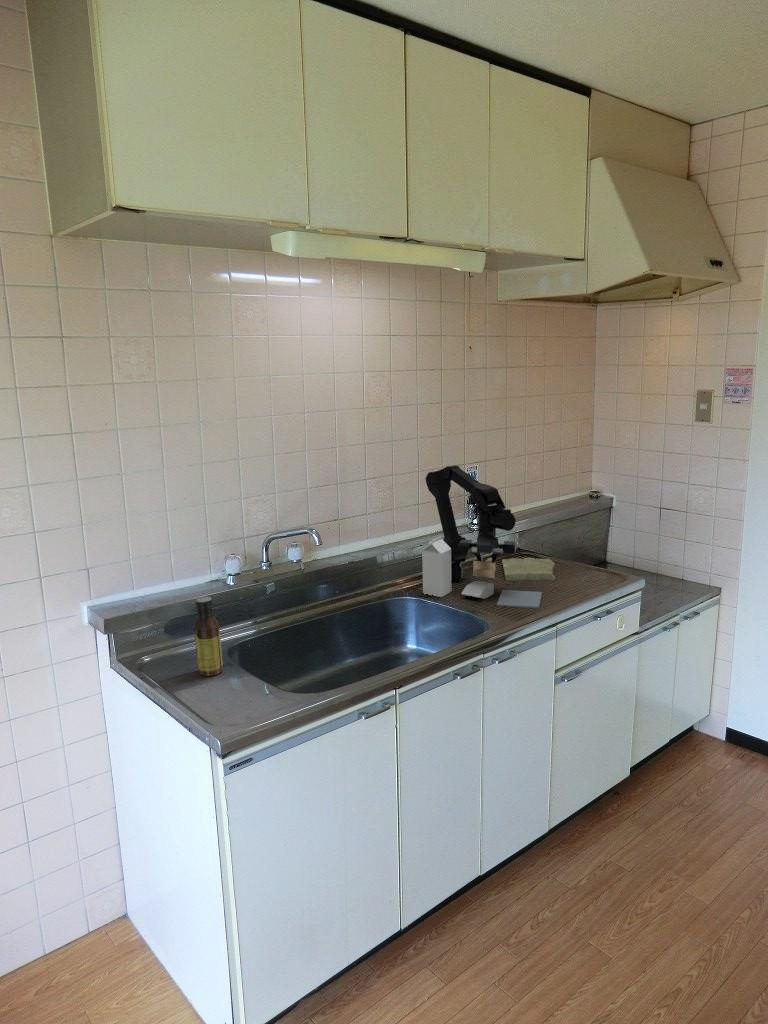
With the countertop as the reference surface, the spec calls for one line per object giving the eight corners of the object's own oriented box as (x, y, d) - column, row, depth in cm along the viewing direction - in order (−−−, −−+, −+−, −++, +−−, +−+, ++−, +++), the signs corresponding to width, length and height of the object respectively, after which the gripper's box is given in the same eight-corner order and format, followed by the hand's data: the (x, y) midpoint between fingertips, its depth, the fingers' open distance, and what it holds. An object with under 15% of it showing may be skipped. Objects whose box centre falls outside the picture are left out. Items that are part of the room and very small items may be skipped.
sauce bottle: (207, 666, 191) (201, 593, 187) (228, 669, 189) (222, 595, 185) (192, 676, 185) (186, 601, 181) (213, 679, 183) (207, 603, 179)
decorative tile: (505, 581, 257) (505, 572, 257) (502, 566, 277) (502, 556, 276) (559, 582, 255) (559, 572, 255) (552, 566, 275) (552, 556, 274)
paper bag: (475, 580, 246) (460, 588, 238) (493, 583, 242) (479, 591, 234) (475, 590, 247) (460, 599, 239) (493, 594, 243) (479, 602, 235)
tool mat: (496, 606, 231) (496, 604, 231) (502, 591, 245) (502, 589, 245) (538, 608, 227) (538, 606, 227) (541, 593, 241) (541, 592, 241)
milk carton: (451, 591, 246) (451, 537, 242) (441, 597, 240) (440, 541, 237) (433, 588, 250) (432, 534, 246) (422, 594, 244) (421, 539, 240)
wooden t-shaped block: (473, 575, 242) (473, 560, 241) (482, 568, 252) (482, 554, 251) (493, 578, 239) (494, 563, 238) (502, 570, 249) (502, 556, 248)
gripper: (454, 530, 236) (455, 577, 239) (513, 532, 231) (513, 579, 234) (460, 522, 246) (460, 567, 249) (516, 524, 241) (516, 570, 244)
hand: (487, 571), depth 244 cm, fingers closed on wooden t-shaped block, 3 cm apart
